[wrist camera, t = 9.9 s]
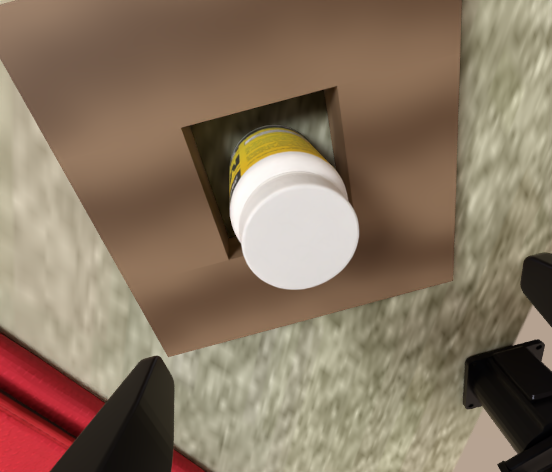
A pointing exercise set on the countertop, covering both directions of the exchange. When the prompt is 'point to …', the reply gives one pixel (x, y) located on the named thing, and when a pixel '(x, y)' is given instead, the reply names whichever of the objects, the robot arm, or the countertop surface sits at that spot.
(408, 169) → the socket board
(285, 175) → the supplement bottle
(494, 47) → the countertop surface
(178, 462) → the red folded cloth
